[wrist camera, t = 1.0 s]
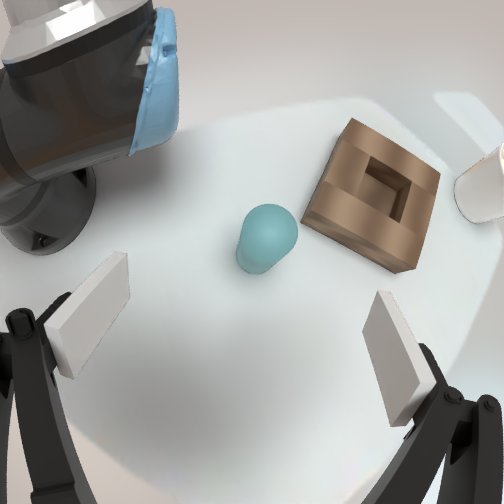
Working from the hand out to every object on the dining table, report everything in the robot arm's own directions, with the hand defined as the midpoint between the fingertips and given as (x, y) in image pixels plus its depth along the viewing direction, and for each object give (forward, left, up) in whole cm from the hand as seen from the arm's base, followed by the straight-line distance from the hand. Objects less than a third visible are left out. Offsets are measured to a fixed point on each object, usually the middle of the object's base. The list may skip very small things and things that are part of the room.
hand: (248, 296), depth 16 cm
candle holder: (+27, +30, -20) cm, 45 cm away
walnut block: (+10, +19, -20) cm, 29 cm away
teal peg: (0, +6, -20) cm, 21 cm away
